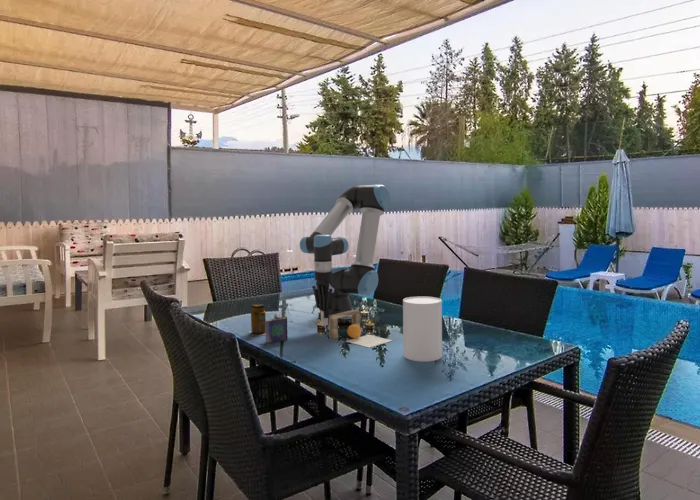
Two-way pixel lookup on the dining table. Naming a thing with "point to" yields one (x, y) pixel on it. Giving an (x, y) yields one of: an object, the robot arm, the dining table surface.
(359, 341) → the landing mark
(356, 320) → the bridge
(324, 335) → the dining table surface
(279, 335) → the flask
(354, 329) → the ball
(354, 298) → the dining table surface
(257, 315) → the condiment
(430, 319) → the canister
